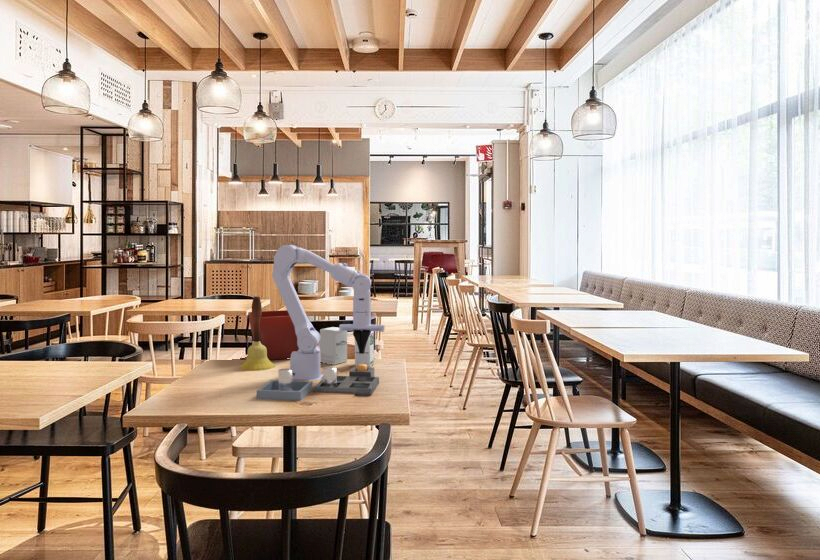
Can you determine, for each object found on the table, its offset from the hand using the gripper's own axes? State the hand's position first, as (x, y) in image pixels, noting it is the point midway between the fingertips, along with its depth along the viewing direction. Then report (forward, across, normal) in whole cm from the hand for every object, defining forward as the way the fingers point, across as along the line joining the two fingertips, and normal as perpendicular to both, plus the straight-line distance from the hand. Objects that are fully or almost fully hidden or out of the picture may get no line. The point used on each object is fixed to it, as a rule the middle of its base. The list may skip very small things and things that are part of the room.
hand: (362, 353), depth 197 cm
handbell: (+9, +40, -13) cm, 43 cm away
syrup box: (+9, +3, -21) cm, 23 cm away
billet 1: (+8, +18, +24) cm, 31 cm away
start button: (+7, 0, 0) cm, 7 cm away
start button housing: (+8, 0, 0) cm, 8 cm away
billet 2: (+8, +6, +17) cm, 20 cm away
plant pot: (+9, +39, -32) cm, 51 cm away
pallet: (+8, +2, +13) cm, 16 cm away
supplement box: (+9, +15, -24) cm, 30 cm away
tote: (+8, +18, +24) cm, 31 cm away
